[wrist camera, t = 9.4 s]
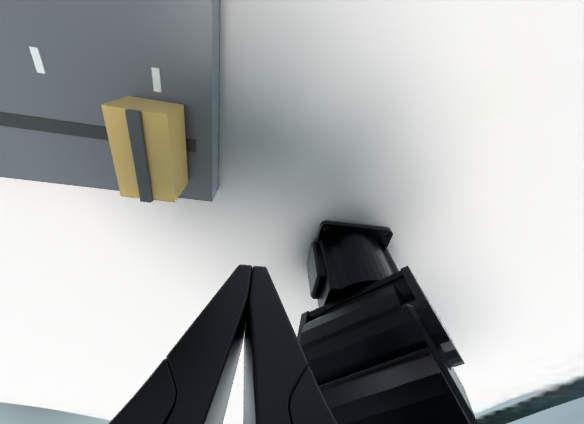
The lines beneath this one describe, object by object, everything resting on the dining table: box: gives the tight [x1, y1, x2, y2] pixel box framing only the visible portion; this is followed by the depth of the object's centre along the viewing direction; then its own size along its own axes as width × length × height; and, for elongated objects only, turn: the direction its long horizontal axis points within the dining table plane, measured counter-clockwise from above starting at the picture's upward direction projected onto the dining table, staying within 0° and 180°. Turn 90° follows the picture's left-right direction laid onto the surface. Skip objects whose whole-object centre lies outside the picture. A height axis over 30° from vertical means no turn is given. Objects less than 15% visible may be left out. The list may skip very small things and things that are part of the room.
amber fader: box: [101, 96, 188, 202], centre depth 15 cm, size 3×5×3 cm, turn 171°
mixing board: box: [0, 0, 220, 201], centre depth 13 cm, size 18×20×2 cm
